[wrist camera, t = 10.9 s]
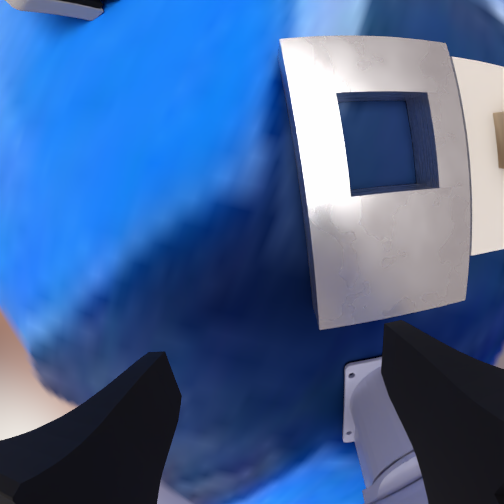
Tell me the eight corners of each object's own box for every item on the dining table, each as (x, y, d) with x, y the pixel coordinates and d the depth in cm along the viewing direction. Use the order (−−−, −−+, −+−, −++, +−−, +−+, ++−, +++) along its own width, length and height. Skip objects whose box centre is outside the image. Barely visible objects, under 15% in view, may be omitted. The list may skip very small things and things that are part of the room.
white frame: (444, 283, 19) (465, 300, 16) (312, 307, 20) (319, 330, 17) (424, 55, 15) (445, 43, 12) (277, 56, 16) (279, 39, 13)
